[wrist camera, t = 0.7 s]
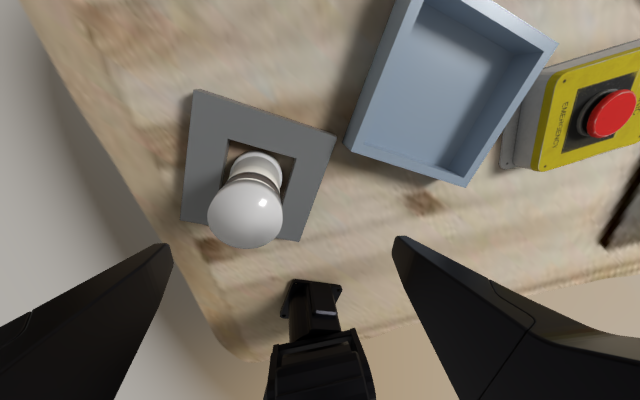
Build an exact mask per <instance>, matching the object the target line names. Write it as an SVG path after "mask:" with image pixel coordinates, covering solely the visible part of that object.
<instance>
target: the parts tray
mask: <svg viewBox="0 0 640 400" xmlns="http://www.w3.org/2000/svg"><path fill="white" fill-rule="evenodd" d="M558 45H559V43H557V42H556V41H554V40H553V39H551V38H550V37H548V36H546V35H545V34H543V33H542V32H540V31H539V30H537V29H536V28H534V27H532V26H531V25H529V24H528V23H526V22H525V21H523V20H522V19H520V18H518V17H517V16H515V15H514V14H512V13H511V12H509V11H508V10H506V9H504V8H503V7H501V6H500V5H498V4H497V3H495V2H494V1H492V0H396V1H395V3H394V6H393V9H392V11H391V14H390V17H389V19H388V22H387V25H386V27H385V30H384V33H383V35H382V38H381V40H380V43H379V46H378V48H377V51H376V54H375V56H374V59H373V62H372V64H371V67H370V70H369V72H368V75H367V78H366V80H365V83H364V85H363V88H362V91H361V93H360V96H359V99H358V101H357V104H356V107H355V109H354V112H353V115H352V117H351V120H350V123H349V125H348V128H347V130H346V133H345V136H344V138H343V141H342V143H343V144H344V145H345V146H346V147H347V148H348V149H349V150H350V151H351V152H354V153H358V154H361V155H364V156H367V157H370V158H373V159H376V160H380V161H383V162H386V163H389V164H392V165H395V166H398V167H401V168H405V169H408V170H411V171H414V172H417V173H420V174H423V175H427V176H430V177H433V178H436V179H439V180H442V181H445V182H449V183H452V184H455V185H458V186H461V187H464V188H466V186H467V185H468V183H469V182H470V180H471V179H472V177H473V176H474V174H475V173H476V171H477V169H478V168H479V166H480V165H481V163H482V162H483V160H484V159H485V157H486V156H487V154H488V153H489V151H490V149H491V148H492V146H493V145H494V143H495V142H496V140H497V139H498V137H499V136H500V134H501V132H502V131H503V129H504V128H505V126H506V125H507V123H508V122H509V120H510V119H511V117H512V116H513V114H514V112H515V111H516V109H517V108H518V106H519V105H520V103H521V102H522V100H523V99H524V97H525V96H526V94H527V92H528V91H529V89H530V88H531V86H532V85H533V83H534V82H535V80H536V79H537V77H538V75H539V74H540V72H541V71H542V69H543V68H544V66H545V65H546V63H547V62H548V60H549V59H550V57H551V55H552V54H553V52H554V51H555V49H556V48H557V46H558Z"/></svg>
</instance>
